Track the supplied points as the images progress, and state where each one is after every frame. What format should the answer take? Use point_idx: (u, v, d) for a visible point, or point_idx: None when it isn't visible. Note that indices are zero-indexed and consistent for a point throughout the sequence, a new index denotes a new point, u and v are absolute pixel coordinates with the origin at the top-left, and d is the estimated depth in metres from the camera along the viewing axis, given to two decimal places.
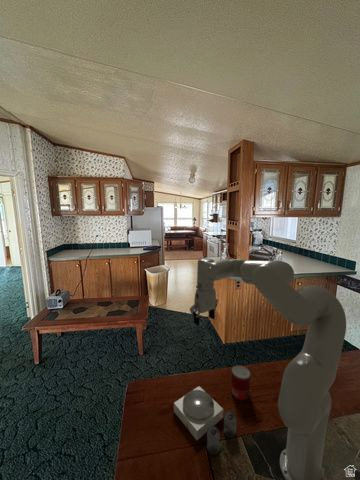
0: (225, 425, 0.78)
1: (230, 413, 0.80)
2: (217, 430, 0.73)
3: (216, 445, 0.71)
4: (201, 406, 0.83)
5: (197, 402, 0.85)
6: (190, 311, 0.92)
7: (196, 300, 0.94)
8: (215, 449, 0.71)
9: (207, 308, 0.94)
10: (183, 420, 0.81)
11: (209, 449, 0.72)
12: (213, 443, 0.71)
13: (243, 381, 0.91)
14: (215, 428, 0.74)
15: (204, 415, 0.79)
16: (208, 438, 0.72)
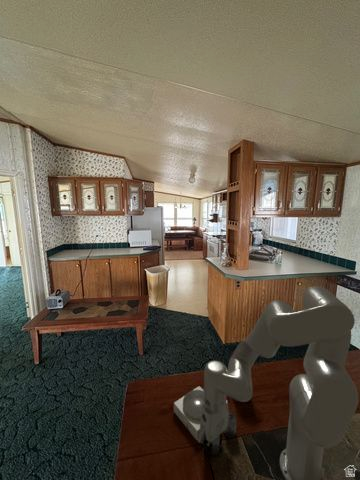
0: None
1: (230, 413, 0.80)
2: None
3: (216, 445, 0.71)
4: (201, 406, 0.83)
5: (197, 402, 0.85)
6: None
7: (203, 423, 0.69)
8: (215, 448, 0.71)
9: (217, 433, 0.69)
10: (183, 420, 0.81)
11: None
12: (213, 443, 0.71)
13: None
14: None
15: None
16: None
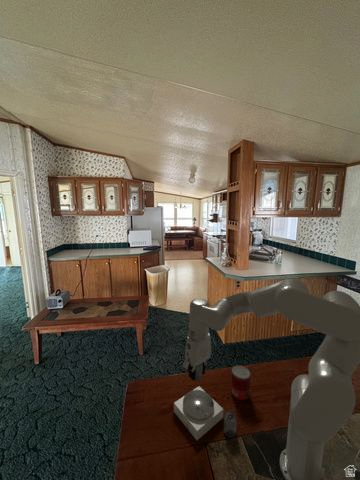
0: (225, 425, 0.78)
1: (230, 413, 0.80)
2: None
3: (199, 372, 0.80)
4: (201, 406, 0.83)
5: (197, 402, 0.85)
6: None
7: (187, 351, 0.78)
8: (198, 375, 0.80)
9: (200, 360, 0.79)
10: (183, 420, 0.81)
11: None
12: (196, 370, 0.80)
13: (243, 381, 0.91)
14: None
15: (204, 415, 0.79)
16: None
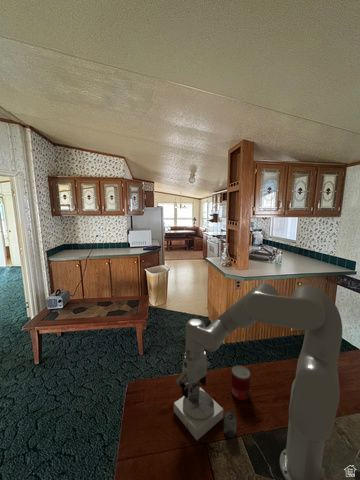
0: (225, 425, 0.78)
1: (230, 413, 0.80)
2: (197, 383, 0.87)
3: (196, 395, 0.84)
4: (201, 406, 0.83)
5: (197, 402, 0.85)
6: (177, 382, 0.81)
7: (184, 369, 0.82)
8: (195, 398, 0.84)
9: (197, 378, 0.82)
10: (183, 420, 0.81)
11: (190, 399, 0.85)
12: (193, 393, 0.84)
13: (243, 381, 0.91)
14: (196, 382, 0.87)
15: (204, 415, 0.79)
16: (189, 389, 0.85)
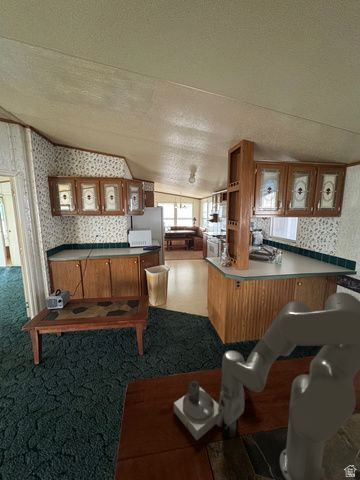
0: None
1: None
2: (197, 383, 0.87)
3: (196, 395, 0.84)
4: (201, 406, 0.83)
5: (197, 402, 0.85)
6: None
7: (221, 407, 0.75)
8: (195, 398, 0.84)
9: (235, 417, 0.75)
10: (183, 420, 0.81)
11: (190, 399, 0.85)
12: (193, 393, 0.84)
13: None
14: (196, 382, 0.87)
15: (204, 415, 0.79)
16: (189, 389, 0.85)
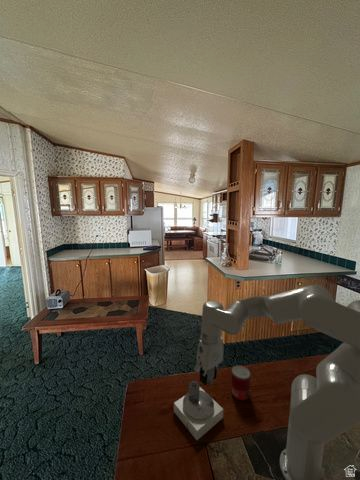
0: None
1: None
2: (197, 383, 0.87)
3: (196, 395, 0.84)
4: (201, 406, 0.83)
5: (197, 402, 0.85)
6: (196, 370, 0.76)
7: (199, 354, 0.76)
8: (195, 398, 0.84)
9: (212, 364, 0.76)
10: (183, 420, 0.81)
11: (190, 399, 0.85)
12: (193, 393, 0.84)
13: (243, 381, 0.91)
14: (196, 382, 0.87)
15: (204, 415, 0.79)
16: (189, 389, 0.85)
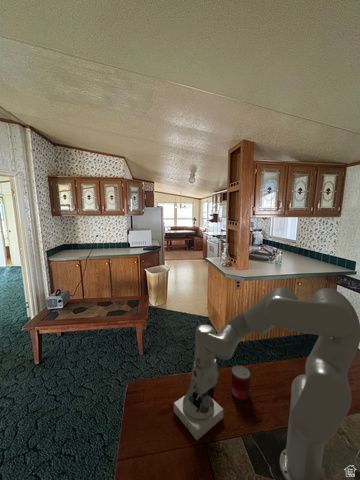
0: None
1: None
2: None
3: None
4: None
5: None
6: (188, 393, 0.77)
7: (194, 378, 0.78)
8: None
9: (207, 387, 0.78)
10: (183, 420, 0.81)
11: (190, 399, 0.85)
12: None
13: (243, 381, 0.91)
14: None
15: (204, 415, 0.79)
16: None
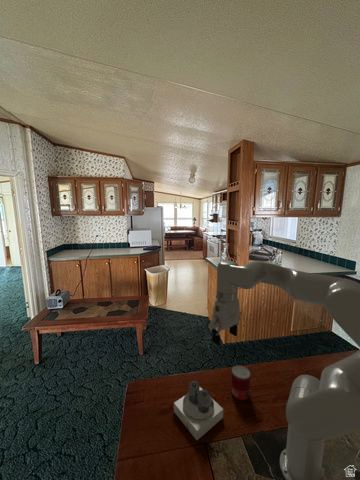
0: (199, 402, 0.81)
1: (204, 391, 0.83)
2: (197, 383, 0.87)
3: (196, 395, 0.84)
4: None
5: (197, 402, 0.85)
6: (209, 328, 0.74)
7: (216, 313, 0.75)
8: (195, 398, 0.84)
9: (229, 323, 0.75)
10: (183, 420, 0.81)
11: (190, 399, 0.85)
12: (193, 393, 0.84)
13: (243, 381, 0.91)
14: (196, 382, 0.87)
15: (204, 415, 0.79)
16: (189, 389, 0.85)
